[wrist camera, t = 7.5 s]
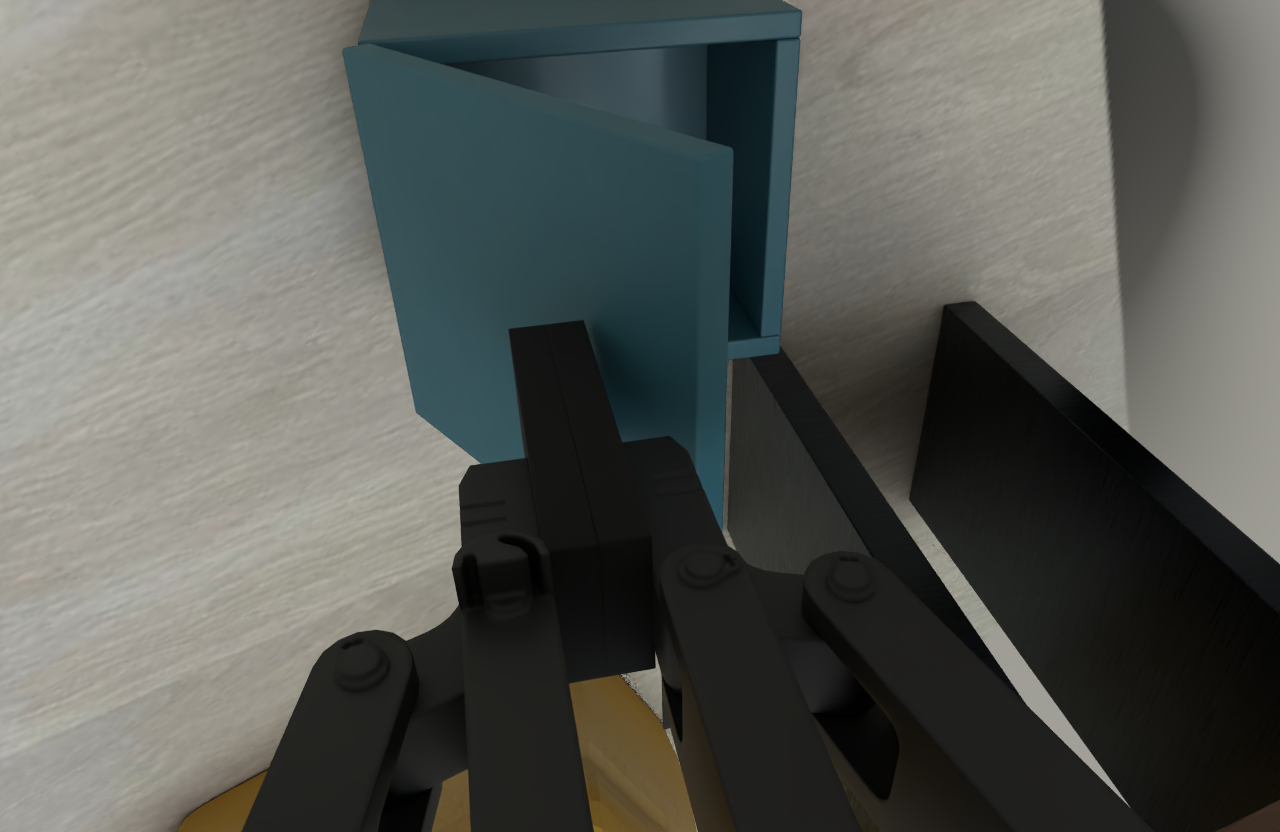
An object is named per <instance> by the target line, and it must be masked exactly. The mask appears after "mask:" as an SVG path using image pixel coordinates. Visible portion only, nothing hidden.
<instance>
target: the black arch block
mask: <svg viewBox="0 0 1280 832" xmlns="http://www.w3.org/2000/svg"><path fill="white" fill-rule="evenodd" d="M910 502H911V503H912V505H913V506H914V507H915V509H916V510H917V511H918V513H919V514H920V516H921V517H922V518H923V520H924V521H925V523H926V524H927V525H928V527H929V528H930V530H931V531H932V532H933V534H934V535H935V537H936V538H937V539H938V541H939V542H940V543H941V545H942V546H943V548H944V549H945V550H946V552H947V553H948V555H949V556H950V557H951V559H952V560H953V562H954V563H955V564H956V566H957V567H958V568H959V570H960V571H961V573H962V574H963V575H964V577H965V578H966V580H967V581H968V582H969V584H970V585H971V587H972V588H973V589H974V591H975V592H976V594H977V595H978V596H979V598H980V599H981V600H982V602H983V603H984V605H985V606H986V607H987V609H988V610H989V612H990V613H991V614H992V616H993V617H994V619H995V620H996V621H997V623H998V624H999V625H1000V627H1001V628H1002V630H1003V631H1004V632H1005V634H1006V635H1007V637H1008V638H1009V639H1010V641H1011V642H1012V644H1013V645H1014V646H1015V648H1016V649H1017V650H1018V652H1019V653H1020V655H1021V656H1022V657H1023V659H1024V660H1025V662H1026V663H1027V664H1028V666H1029V667H1030V669H1031V670H1032V671H1033V673H1034V674H1035V675H1036V677H1037V678H1038V680H1039V681H1040V682H1041V684H1042V685H1043V687H1044V688H1045V689H1046V691H1047V692H1048V693H1049V695H1050V696H1051V698H1052V699H1053V700H1054V702H1055V703H1056V705H1057V706H1058V707H1059V709H1060V710H1061V712H1062V713H1063V714H1064V716H1065V717H1066V718H1067V720H1068V721H1069V723H1070V724H1071V726H1072V727H1073V728H1074V730H1075V731H1076V732H1077V734H1078V735H1079V737H1080V738H1081V739H1082V741H1083V742H1084V744H1085V745H1086V746H1087V748H1088V749H1089V750H1090V752H1091V753H1092V755H1093V756H1094V757H1095V759H1096V760H1097V762H1098V763H1099V764H1100V766H1101V767H1102V769H1103V770H1104V771H1105V773H1106V774H1107V776H1108V777H1109V778H1110V780H1111V781H1112V783H1113V784H1114V785H1115V787H1116V788H1117V789H1118V791H1119V792H1120V794H1121V795H1122V796H1123V798H1124V799H1125V801H1126V802H1127V803H1128V805H1129V806H1130V808H1131V809H1132V810H1133V811H1134V812H1135V813H1136V814H1137V815H1138V816H1139V817H1140V818H1141V819H1142V820H1143V821H1144V822H1145V823H1146V824H1147V825H1148V826H1149V827H1150V828H1151V829H1152V830H1153V831H1154V832H1216V831H1218V830H1220V829H1222V828H1224V827H1226V826H1228V825H1230V824H1232V823H1234V822H1236V821H1238V820H1240V819H1242V818H1244V817H1246V816H1248V815H1250V814H1252V813H1254V812H1256V811H1258V810H1260V809H1262V808H1264V807H1266V806H1268V805H1270V804H1272V803H1274V802H1276V801H1278V800H1280V564H1279V563H1278V562H1277V561H1276V560H1274V559H1273V558H1272V557H1271V556H1270V555H1269V554H1267V553H1266V552H1265V551H1264V550H1263V549H1262V548H1260V547H1259V546H1258V545H1257V544H1256V543H1255V542H1253V541H1252V540H1251V539H1250V538H1249V537H1248V536H1247V535H1245V534H1244V533H1243V532H1242V531H1241V530H1240V529H1238V528H1237V527H1236V526H1235V525H1234V524H1233V523H1232V522H1230V521H1229V520H1228V519H1227V518H1226V517H1225V516H1223V515H1222V514H1221V513H1220V512H1219V511H1218V510H1216V509H1215V508H1214V507H1213V506H1212V505H1211V504H1209V503H1208V502H1207V501H1206V500H1205V499H1204V498H1202V497H1201V496H1200V495H1199V494H1198V493H1197V492H1195V491H1194V490H1193V489H1192V488H1191V487H1190V486H1189V485H1188V484H1186V483H1185V482H1184V481H1183V480H1182V479H1181V478H1179V477H1178V476H1177V475H1176V474H1175V473H1174V472H1172V471H1171V470H1170V469H1169V468H1168V467H1167V466H1165V465H1164V464H1163V463H1162V462H1161V461H1159V459H1157V458H1156V457H1155V456H1154V455H1153V454H1152V453H1150V452H1149V451H1148V450H1147V449H1146V448H1145V447H1143V446H1142V445H1141V444H1140V443H1139V442H1138V441H1137V440H1135V439H1134V438H1133V437H1132V436H1131V435H1130V434H1128V433H1127V432H1126V431H1125V430H1124V429H1123V428H1122V427H1120V426H1119V425H1118V424H1117V423H1116V422H1115V421H1113V420H1112V419H1111V418H1110V417H1109V416H1108V415H1106V414H1105V413H1104V412H1103V411H1102V410H1101V409H1100V408H1098V407H1097V406H1096V405H1095V404H1094V403H1093V402H1091V401H1090V400H1089V399H1088V398H1087V397H1086V396H1084V395H1083V394H1082V393H1081V392H1080V391H1079V390H1078V389H1076V388H1075V387H1074V386H1073V385H1072V384H1071V383H1069V382H1068V381H1067V380H1066V379H1065V378H1064V377H1062V376H1061V375H1060V374H1059V373H1058V372H1057V371H1056V370H1054V369H1053V368H1052V367H1051V366H1050V365H1049V364H1047V363H1046V362H1045V361H1044V360H1043V359H1042V358H1040V357H1039V356H1038V355H1037V354H1036V353H1035V352H1034V351H1032V350H1031V349H1030V348H1029V347H1028V346H1027V345H1025V344H1024V343H1023V342H1022V341H1021V340H1020V339H1018V338H1017V337H1016V336H1015V335H1014V334H1013V333H1012V332H1010V331H1009V330H1008V329H1007V328H1006V327H1005V326H1003V325H1002V324H1001V323H1000V322H999V321H998V320H996V319H995V318H994V317H993V316H992V315H991V314H990V313H988V312H987V311H986V310H985V309H984V308H983V307H981V306H980V305H979V304H978V303H977V302H966V303H958V304H950V305H945V306H944V311H943V317H942V323H941V328H940V334H939V339H938V345H937V350H936V356H935V361H934V367H933V373H932V378H931V384H930V389H929V395H928V400H927V406H926V411H925V417H924V423H923V428H922V434H921V439H920V445H919V450H918V456H917V461H916V467H915V473H914V478H913V484H912V489H911V495H910ZM728 531H729V534H730V536H731V538H732V541H733V543H734V545H735V548H736V550H737V552H738V553H739V554H740V555H741V556H742V558H743V559H744V560H745V562H746V563H747V564H749V565H751V566H754V567H756V568H759V569H762V570H767V571H772V572H779V573H791V574H803V575H804V572H805V571H806V569H807V568H808V566H809V564H810V563H811V561H813V560H815V559H816V558H818V557H820V556H822V555H823V554H827V553H832V552H837V551H846V552H858V553H861V554H864V555H866V556H869V557H872V558H875V559H876V560H878V561H879V562H880V563H882V564H883V565H885V566H886V567H887V568H889V569H890V570H891V571H892V572H893V573H894V574H895V575H896V576H897V577H898V578H899V579H900V580H901V581H902V582H903V583H904V584H905V585H906V586H907V587H908V588H909V589H910V590H911V591H912V592H913V593H914V594H915V595H916V596H917V597H918V598H919V599H920V600H921V601H922V602H923V603H924V604H925V605H926V606H927V607H928V608H929V609H930V610H931V611H932V612H933V613H934V614H935V615H936V616H937V617H938V618H939V619H940V620H941V621H942V622H943V623H944V624H945V625H946V626H947V627H948V628H949V629H950V630H951V631H952V632H953V633H954V634H955V635H956V636H957V637H958V638H959V639H960V640H961V641H962V642H963V643H964V644H965V645H966V646H967V647H968V648H969V649H970V650H971V651H972V652H973V653H974V654H975V655H976V656H977V657H978V658H980V659H981V660H982V661H983V662H984V663H985V664H986V665H987V666H988V667H989V668H990V669H991V670H992V671H993V672H994V673H995V674H996V675H997V676H998V677H999V678H1000V679H1001V680H1002V681H1003V682H1004V683H1005V684H1006V685H1007V686H1008V687H1009V688H1010V689H1011V690H1012V691H1013V692H1014V693H1015V694H1016V695H1017V696H1018V697H1019V698H1020V699H1021V700H1022V701H1023V699H1022V698H1021V696H1020V695H1019V693H1018V692H1017V690H1016V689H1015V687H1014V686H1013V684H1012V683H1011V682H1010V680H1009V679H1008V677H1007V676H1006V674H1005V673H1004V671H1003V670H1002V668H1001V667H1000V665H999V664H998V663H997V661H996V660H995V658H994V657H993V655H992V654H991V652H990V651H989V649H988V648H987V647H986V645H985V644H984V642H983V641H982V639H981V638H980V636H979V635H978V633H977V632H976V630H975V629H974V628H973V626H972V625H971V623H970V622H969V620H968V619H967V617H966V616H965V614H964V613H963V611H962V610H961V609H960V607H959V606H958V604H957V603H956V601H955V600H954V598H953V597H952V595H951V594H950V593H949V591H948V590H947V588H946V587H945V585H944V584H943V582H942V581H941V579H940V578H939V576H938V575H937V574H936V572H935V571H934V569H933V568H932V566H931V565H930V563H929V562H928V560H927V559H926V557H925V556H924V555H923V553H922V552H921V550H920V549H919V547H918V546H917V544H916V543H915V541H914V540H913V539H912V537H911V536H910V534H909V533H908V531H907V530H906V528H905V527H904V525H903V524H902V522H901V521H900V520H899V518H898V517H897V515H896V514H895V512H894V511H893V509H892V508H891V506H890V505H889V503H888V502H887V501H886V499H885V498H884V496H883V495H882V493H881V492H880V490H879V489H878V487H877V486H876V485H875V483H874V482H873V480H872V479H871V477H870V476H869V474H868V473H867V471H866V470H865V468H864V467H863V466H862V464H861V463H860V461H859V460H858V458H857V457H856V455H855V454H854V452H853V451H852V449H851V448H850V447H849V445H848V444H847V442H846V441H845V439H844V438H843V436H842V435H841V433H840V432H839V431H838V429H837V428H836V426H835V425H834V423H833V422H832V420H831V419H830V417H829V416H828V414H827V413H826V412H825V410H824V409H823V407H822V406H821V404H820V403H819V401H818V400H817V398H816V397H815V395H814V394H813V393H812V391H811V390H810V388H809V387H808V385H807V384H806V382H805V381H804V379H803V378H802V377H801V375H800V374H799V372H798V371H797V369H796V368H795V366H794V365H793V363H792V362H791V360H790V359H789V358H788V356H787V355H786V353H785V352H784V350H783V349H782V347H781V346H780V352H779V353H778V354H770V355H763V356H755V357H747V358H740V359H733V385H732V415H731V445H730V474H729V504H728ZM1023 702H1024V701H1023ZM1024 703H1025V702H1024ZM1025 704H1026V703H1025ZM835 770H836V769H835ZM836 772H837V770H836ZM837 774H838V777H839V779H840V781H841V784H842V786H843V788H844V791H845V793H846V795H847V798H848V800H849V802H850V805H851V807H852V809H853V812H854V814H855V816H856V819H857V821H858V823H859V826H860V828H861V830H862V832H882V831H881V830H880V829H879V827H878V826H877V825H876V823H875V822H874V821H873V819H872V818H871V816H870V815H869V814H868V812H867V811H866V810H865V808H864V807H863V806H862V804H861V803H860V802H859V800H858V799H857V797H856V796H855V795H854V793H853V792H852V791H851V789H850V788H849V787H848V785H847V784H846V783H845V781H844V780H843V778H842V777H841V776H840V774H839V773H838V772H837Z"/></svg>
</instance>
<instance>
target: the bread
mask: <svg viewBox="0 0 1280 832" xmlns="http://www.w3.org/2000/svg"><path fill="white" fill-rule="evenodd" d="M569 687H570V692H571V698H572V704H573V710H574V716H575V722H576V728H577V734H578V740H579V746H580V752H581V758H582V764H583V770H584V775H585V781H586V787H587V793H588V799H589V805H590V811H591V817H592V823H593V829H594V832H697V831H696V825H695V821H694V816H693V812H692V807H691V804H690V800H689V796H688V792H687V789H686V785H685V781H684V777H683V773H682V770H681V767H680V764H679V761H678V758H677V756H676V754H675V751H674V749H673V747H672V745H671V743H670V741H669V739H668V736H667V734H666V732H665V729H663V725H662V723H661V722H660V720H659V719H658V718H657V716H656V715H655V714H654V713H653V712H652V711H651V710H650V709H649V708H648V706H647V705H646V704H645V703H644V702H643V701H642V700H641V699H640V698H639V696H638V695H637V694H636V693H635V692H634V691H633V690H632V689H631V688H630V686H629V685H628V684H627V683H626V682H625V681H624V680H623V679H622V678H621V676H620V675H615V676H609V677H603V678H598V679H592V680H587V681H581V682H575V683H570V684H569ZM267 771H268V770H267ZM267 771H265V772H263V773H261V774H259V775H257V776H255V777H254V778H252V779H250V780H248V781H246V782H244V783H242V784H241V785H239V786H237V787H235V788H233V789H231V790H229V791H228V792H226V793H224V794H222V795H220V796H219V797H217V798H215V799H213V800H212V801H210V802H208V803H206V804H205V805H203V806H202V807H200V808H199V809H197V810H195V811H194V812H193V813H191V814H190V815H189V816H188V817H187V818H185V819H184V821H183V822H182V824H181V827H180V829H179V830H178V832H241V831H242V829H243V826H244V824H245V822H246V819H247V817H248V815H249V813H250V810H251V808H252V806H253V803H254V801H255V799H256V796H257V794H258V792H259V790H260V787H261V785H262V783H263V780H264V778H265V776H266V773H267ZM432 832H471V826H470V804H469V783H468V769H467V770H465V771H463V772H461V773H459V774H457V775H455V776H453V777H451V778H449V779H447V780H445V781H443V782H442V792H441V796H440V800H439V804H438V808H437V812H436V816H435V820H434V824H433V828H432Z"/></svg>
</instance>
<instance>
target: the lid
mask: <svg viewBox="0 0 1280 832" xmlns="http://www.w3.org/2000/svg"><path fill="white" fill-rule="evenodd" d="M342 53H343V57H344V62H345V67H346V72H347V77H348V82H349V87H350V92H351V97H352V102H353V106H354V111H355V116H356V121H357V126H358V131H359V136H360V141H361V146H362V150H363V155H364V160H365V165H366V170H367V175H368V180H369V185H370V190H371V194H372V199H373V204H374V209H375V214H376V219H377V224H378V229H379V234H380V238H381V243H382V248H383V253H384V258H385V263H386V268H387V273H388V278H389V282H390V287H391V292H392V297H393V302H394V307H395V312H396V317H397V322H398V326H399V331H400V336H401V341H402V346H403V351H404V356H405V361H406V366H407V370H408V375H409V380H410V385H411V390H412V395H413V400H414V405H415V410H416V413H417V414H418V415H420V416H421V417H422V418H424V419H425V420H426V421H427V422H429V423H430V424H431V425H433V426H434V427H435V428H436V429H438V430H439V431H440V432H441V433H443V434H444V435H445V436H447V437H448V438H449V439H450V440H452V441H453V442H454V443H455V444H457V445H458V446H459V447H461V448H462V449H463V450H464V451H466V452H467V453H468V454H470V455H471V456H472V457H473V458H475V459H476V460H477V461H478V462H480V463H481V464H486V463H493V462H500V461H507V460H514V459H521V458H525V454H524V448H523V441H522V434H521V426H520V418H519V410H518V402H517V394H516V386H515V378H514V370H513V363H512V355H511V347H510V339H509V331H508V329H511V328H520V327H528V326H536V325H545V324H553V323H562V322H570V321H579V320H584V323H585V326H586V329H587V332H588V336H589V339H590V342H591V345H592V348H593V351H594V355H595V358H596V361H597V364H598V367H599V370H600V374H601V377H602V380H603V383H604V386H605V389H606V393H607V396H608V399H609V402H610V405H611V408H612V412H613V415H614V418H615V421H616V424H617V427H618V431H619V434H620V437H621V440H622V442H629V441H636V440H643V439H650V438H657V437H665V436H670V437H672V438H673V439H674V440H675V441H676V442H678V443H679V444H680V445H681V446H683V447H684V448H685V449H686V450H687V451H688V452H689V455H690V457H691V459H692V462H693V464H694V467H695V469H696V474H698V476H699V479H700V481H701V484H702V488H703V489H704V491H705V493H706V496H707V498H708V500H709V503H710V505H711V508H712V510H713V512H714V515H715V517H716V520H717V522H718V524H719V527H720V529H721V532H722V528H723V494H724V460H725V426H726V392H727V357H728V323H729V289H730V255H731V221H732V187H733V153H734V152H733V149H732V148H731V147H727V146H724V145H720V144H717V143H713V142H710V141H706V140H703V139H699V138H696V137H693V136H689V135H686V134H682V133H679V132H675V131H672V130H668V129H665V128H661V127H658V126H654V125H651V124H647V123H644V122H640V121H637V120H633V119H630V118H627V117H623V116H620V115H616V114H613V113H609V112H606V111H602V110H599V109H595V108H592V107H588V106H585V105H581V104H578V103H574V102H571V101H567V100H564V99H561V98H557V97H554V96H550V95H547V94H543V93H540V92H536V91H533V90H529V89H526V88H522V87H519V86H515V85H512V84H508V83H505V82H501V81H498V80H495V79H491V78H488V77H484V76H481V75H477V74H474V73H470V72H467V71H463V70H460V69H456V68H453V67H449V66H446V65H442V64H439V63H435V62H432V61H429V60H425V59H422V58H418V57H415V56H411V55H408V54H404V53H401V52H397V51H394V50H390V49H387V48H383V47H380V46H376V45H373V44H363V45H358V46H352V47H347V48H344V49H343V50H342Z"/></svg>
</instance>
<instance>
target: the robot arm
mask: <svg viewBox="0 0 1280 832" xmlns="http://www.w3.org/2000/svg"><path fill="white" fill-rule="evenodd" d="M508 331H509V339H510V347H511V355H512V363H513V370H514V378H515V386H516V394H517V402H518V410H519V418H520V426H521V434H522V441H523V448H524V454H525V458H521V459H514V460H507V461H500V462H493V463H486V464H478V465H471V466H470V467H469V468H468V470H467V472H466V474H465V476H464V477H463V479H462V481H461V483H460V484H459V501H460V521H461V542H462V547H461V549H460V550H459V551H458V552H457V553H456V555H455V557H454V562H453V566H452V571H453V576H454V581H455V586H456V591H457V596H458V601H459V605H458V607H457V608H456V610H455V611H454V612H453V613H452V615H451V616H450V617H449V618H448V619H446V620H445V621H444V622H443V623H441V624H440V625H439V626H437V627H435V628H433V629H432V630H430V631H428V632H426V633H424V634H422V635H419V636H417V637H415V638H412V639H410V640H408V641H405V640H404V639H402V638H401V637H399V636H397V635H396V634H394V633H391V632H386V631H380V630H372V631H364V632H357V633H355V634H352V635H350V636H347V637H345V638H343V639H340V640H338V641H337V642H336V643H334V644H333V645H332V646H330V647H329V648H328V649H327V650H325V651H324V652H323V653H322V654H321V656H320V657H319V659H318V660H317V662H316V663H315V665H314V666H313V668H312V670H311V672H310V675H309V677H308V679H307V682H306V684H305V686H304V688H303V691H302V693H301V695H300V698H299V700H298V702H297V705H296V707H295V709H294V711H293V714H292V716H291V718H290V721H289V723H288V725H287V728H286V730H285V732H284V734H283V737H282V739H281V741H280V744H279V746H278V748H277V750H276V753H275V755H274V757H273V760H272V762H271V764H270V767H269V769H268V771H267V773H266V776H265V778H264V780H263V783H262V785H261V787H260V790H259V792H258V794H257V796H256V799H255V801H254V803H253V806H252V808H251V810H250V813H249V815H248V817H247V819H246V822H245V824H244V826H243V829H242V831H241V832H432V828H433V824H434V820H435V816H436V812H437V808H438V804H439V800H440V796H441V792H442V782H443V781H445V780H447V779H449V778H451V777H453V776H455V775H457V774H459V773H461V772H463V771H465V770H467V769H468V783H469V804H470V826H471V832H594V829H593V823H592V817H591V811H590V805H589V799H588V793H587V787H586V781H585V775H584V770H583V764H582V758H581V752H580V746H579V740H578V734H577V728H576V722H575V716H574V710H573V704H572V698H571V692H570V687H569V684H570V683H575V682H581V681H587V680H592V679H598V678H603V677H609V676H615V675H620V674H626V673H631V672H637V671H643V670H648V669H654V668H656V664H655V652H656V655H657V659H658V662H659V666H660V670H661V673H662V710H663V729H668V728H671V732H672V736H673V740H674V743H675V747H676V751H677V755H678V758H679V762H680V766H681V770H682V773H683V777H684V781H685V785H686V789H687V792H688V796H689V800H690V804H691V807H692V811H693V815H694V819H695V822H696V826H697V830H698V832H862V830H861V828H860V826H859V823H858V821H857V819H856V816H855V814H854V812H853V809H852V807H851V805H850V802H849V800H848V798H847V795H846V793H845V791H844V788H843V786H842V784H841V781H840V779H839V777H838V774H837V772H838V773H839V774H840V776H841V777H842V778H843V780H844V781H845V783H846V784H847V785H848V787H849V788H850V789H851V791H852V792H853V793H854V795H855V796H856V797H857V799H858V800H859V802H860V803H861V804H862V806H863V807H864V808H865V810H866V811H867V812H868V814H869V815H870V816H871V818H872V819H873V821H874V822H875V823H876V825H877V826H878V827H879V829H880V830H881V831H882V832H1154V831H1153V830H1152V829H1151V828H1150V827H1149V826H1148V825H1147V824H1146V823H1145V822H1144V821H1143V820H1142V819H1141V818H1140V817H1139V816H1138V815H1137V814H1136V813H1135V812H1134V811H1133V810H1132V809H1131V808H1130V807H1129V806H1128V805H1127V804H1126V803H1125V802H1124V801H1123V800H1122V799H1121V798H1120V797H1119V796H1118V795H1117V794H1116V793H1115V792H1114V791H1113V790H1112V789H1111V788H1110V787H1109V786H1108V785H1107V784H1106V783H1105V782H1104V781H1103V780H1102V779H1100V777H1099V776H1098V775H1097V774H1095V772H1093V770H1092V769H1090V768H1089V766H1088V765H1086V764H1085V763H1084V762H1083V761H1082V760H1081V759H1080V758H1079V757H1078V756H1077V755H1076V754H1075V753H1074V752H1073V751H1072V750H1071V749H1070V748H1069V747H1068V746H1067V745H1066V744H1065V743H1064V742H1063V741H1062V740H1061V739H1060V738H1059V737H1058V736H1057V735H1056V734H1055V733H1054V732H1053V731H1052V730H1051V729H1050V728H1049V727H1048V726H1047V725H1046V724H1045V723H1044V722H1043V721H1042V720H1041V719H1040V718H1039V717H1038V716H1037V715H1036V714H1035V713H1034V712H1033V711H1032V710H1031V709H1030V708H1029V707H1028V706H1027V705H1026V704H1025V703H1024V702H1023V701H1022V700H1021V699H1020V698H1019V697H1018V696H1017V695H1016V694H1015V693H1014V692H1013V691H1012V690H1011V689H1010V688H1009V687H1008V686H1007V685H1006V684H1005V683H1004V682H1003V681H1002V680H1001V679H1000V678H999V677H998V676H997V675H996V674H995V673H994V672H993V671H992V670H991V669H990V668H989V667H988V666H987V665H986V664H985V663H984V662H983V661H982V660H981V659H980V658H978V657H977V656H976V655H975V654H974V653H973V652H972V651H971V650H970V649H969V648H968V647H967V646H966V645H965V644H964V643H963V642H962V641H961V640H960V639H959V638H958V637H957V636H956V635H955V634H954V633H953V632H952V631H951V630H950V629H949V628H948V627H947V626H946V625H945V624H944V623H943V622H942V621H941V620H940V619H939V618H938V617H937V616H936V615H935V614H934V613H933V612H932V611H931V610H930V609H929V608H928V607H927V606H926V605H925V604H924V603H923V602H922V601H921V600H920V599H919V598H918V597H917V596H916V595H915V594H914V593H913V592H912V591H911V590H910V589H909V588H908V587H907V586H906V585H905V584H904V583H903V582H902V581H901V580H900V579H899V578H898V577H897V576H896V575H895V574H894V573H893V572H892V571H891V570H890V569H889V568H887V567H886V566H885V565H883V564H882V563H880V562H879V561H878V560H876V559H875V558H872V557H869V556H866V555H864V554H861V553H858V552H846V551H837V552H832V553H827V554H823V555H822V556H820V557H818V558H816V559H815V560H813V561H811V563H810V564H809V566H808V568H807V569H806V571H805V572H804V575H803V574H791V573H779V572H772V571H767V570H762V569H759V568H756V567H754V566H751V565H749V564H747V563H746V562H745V560H744V559H743V558H742V556H741V555H740V554H739V553H738V552H737V551H735V550H733V549H732V548H730V547H729V546H728V545H727V543H726V541H725V539H724V536H723V534H722V532H721V529H720V527H719V524H718V522H717V520H716V517H715V515H714V512H713V510H712V508H711V505H710V503H709V500H708V498H707V496H706V493H705V491H704V489H703V488H702V484H701V481H700V479H699V476H698V474H696V469H695V467H694V464H693V462H692V459H691V457H690V455H689V452H688V451H687V450H686V449H685V448H684V447H683V446H681V445H680V444H679V443H678V442H676V441H675V440H674V439H673V438H672V437H670V436H665V437H657V438H650V439H643V440H636V441H629V442H622V440H621V437H620V434H619V431H618V427H617V424H616V421H615V418H614V415H613V412H612V408H611V405H610V402H609V399H608V396H607V393H606V389H605V386H604V383H603V380H602V377H601V374H600V370H599V367H598V364H597V361H596V358H595V355H594V351H593V348H592V345H591V342H590V339H589V336H588V332H587V329H586V326H585V323H584V320H579V321H570V322H562V323H553V324H545V325H536V326H528V327H520V328H511V329H508ZM835 769H836V770H837V772H836V770H835Z"/></svg>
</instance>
